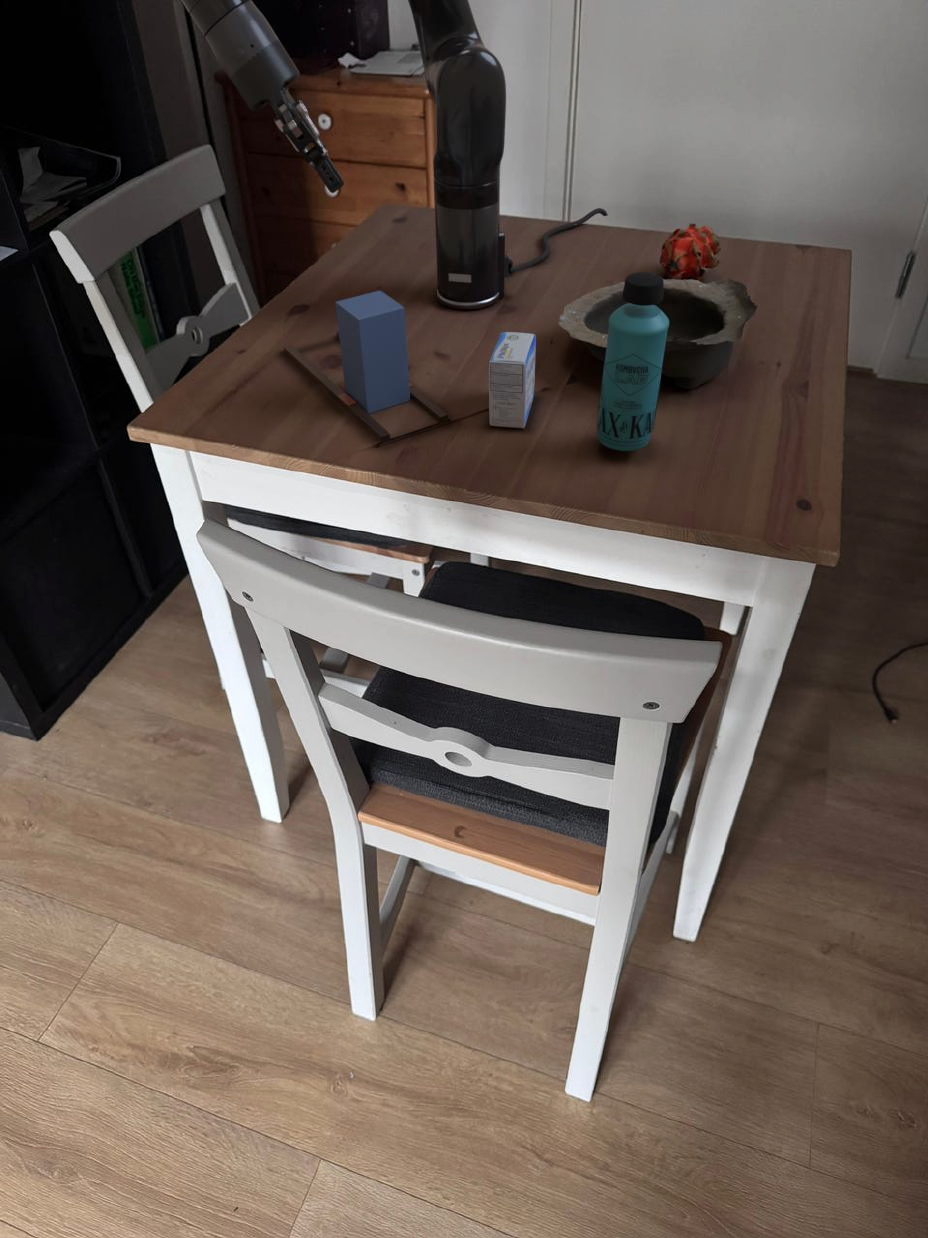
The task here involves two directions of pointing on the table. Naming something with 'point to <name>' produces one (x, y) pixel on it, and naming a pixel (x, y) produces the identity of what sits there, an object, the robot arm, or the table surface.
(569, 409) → the table surface
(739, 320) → the stone bowl
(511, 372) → the medicine box
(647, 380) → the beverage bottle
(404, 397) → the block
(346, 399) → the track
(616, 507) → the table surface
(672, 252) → the dragon fruit
